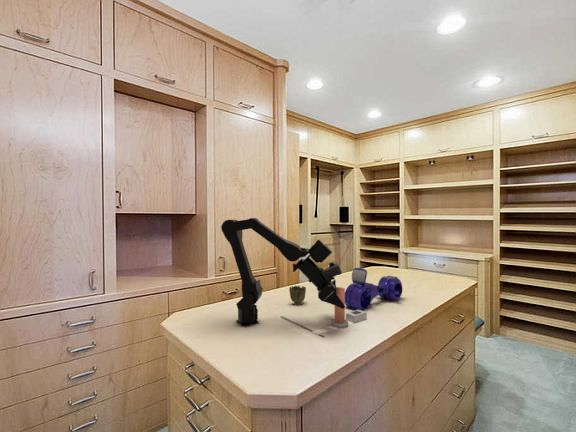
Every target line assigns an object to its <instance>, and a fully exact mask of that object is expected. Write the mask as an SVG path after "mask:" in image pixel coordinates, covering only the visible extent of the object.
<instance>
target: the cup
mask: <svg viewBox="0 0 576 432" xmlns="http://www.w3.org/2000/svg"><path fill="white" fill-rule="evenodd" d="M288 289H289V296H290V300H291V301H292V302H293V305H296V306H300V305H302V303H303V302H304V301H305V298H306V293H307V292H306V291H307V288H306V286H304V285H302V286H301V287H300V285H294V286H293V285H292V286H289V287H288Z"/></svg>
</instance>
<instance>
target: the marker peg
mask: <svg viewBox="0 0 576 432" xmlns="http://www.w3.org/2000/svg"><path fill="white" fill-rule="evenodd" d="M345 291H346V288H345V287H339V286H336V294H337V295H338V297H339V298H340V300H341V301H342V302H343V304H344V305H345ZM345 306H346V305H345ZM330 324H331V325H332V326H333V327H335V328H337V329H345V328H348V327H349V325H348V321H347V320H346V307H345V308H344V309H342V308H340V307H337V306H335V305H334V318H333V319H331V321H330ZM331 325H330V326H331Z"/></svg>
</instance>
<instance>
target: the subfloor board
mask: <svg viewBox="0 0 576 432" xmlns="http://www.w3.org/2000/svg"><path fill="white" fill-rule="evenodd" d="M280 318H281V319H283V320H285V321H288V322H290V323H292V324H294V325H295V326H298V327H300V328H302V329H305V330H306V331H309V332H310V333H312V334H314V335H316V336H318V337H321V338H322V339H323V338H326V336H324V334H325V333H328V332H330V331H331V332H332V331H333V330H336V329H338V328H335V327H333V326H332V325H329V326H325V327H322V328H319V329H316V330H312V329H310V328H308V327H306V326H303V325H301V324H299V323H297V322H295V321H293V320H291V319H289V318H288V317H287V318H286V317H285V316H283V315H281V316H280ZM351 324H354V323H353V322H350V321H348V326H349V325H351Z"/></svg>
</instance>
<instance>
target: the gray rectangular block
mask: <svg viewBox="0 0 576 432" xmlns="http://www.w3.org/2000/svg"><path fill="white" fill-rule="evenodd" d="M367 313H368V312H367V311H365V310H362V311H361V310H355V309H354V310H352V311H349V312H345V320H347V321H350V322H353V323H352V324H356V323H359V322H362V321H366V320H367V319H368V314H367Z"/></svg>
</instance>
